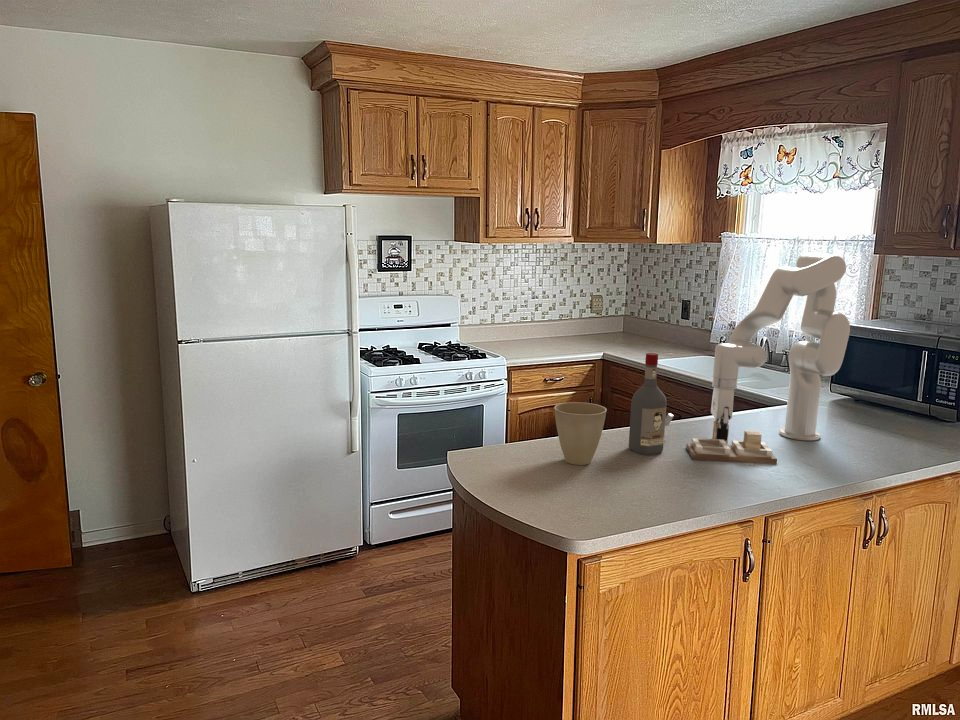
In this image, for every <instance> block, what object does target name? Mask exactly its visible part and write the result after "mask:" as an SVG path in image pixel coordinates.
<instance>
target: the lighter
mask: <svg viewBox="0 0 960 720" xmlns="http://www.w3.org/2000/svg"><path fill="white" fill-rule="evenodd" d="M673 418H674V414H672V412H670V413H667V414H666V417H665V427H668V426H670V423H672V420H673ZM665 432H666V430H665V431H664V436H666V435H665Z"/></svg>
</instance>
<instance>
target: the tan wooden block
mask: <svg viewBox="0 0 960 720" xmlns="http://www.w3.org/2000/svg"><path fill="white" fill-rule="evenodd" d="M721 423H722V422H721ZM717 428H719V421H715V420H713V425H712V438H711V439H716V438H717ZM729 433H730V425H729V423H728V435H727V441H725V442H726V444H728V443H729Z"/></svg>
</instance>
